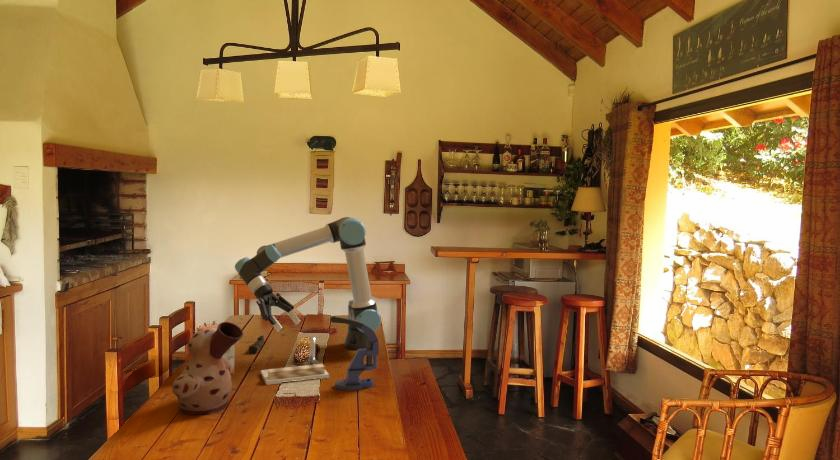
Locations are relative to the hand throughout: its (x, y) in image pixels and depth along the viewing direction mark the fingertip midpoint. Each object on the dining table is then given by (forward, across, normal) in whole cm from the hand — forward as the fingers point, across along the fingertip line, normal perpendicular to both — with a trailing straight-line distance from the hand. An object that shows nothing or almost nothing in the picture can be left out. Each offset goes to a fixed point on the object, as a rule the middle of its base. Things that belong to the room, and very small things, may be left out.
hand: (289, 326), depth 243 cm
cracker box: (-1, +22, -27) cm, 35 cm away
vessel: (+13, +48, -12) cm, 52 cm away
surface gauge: (+20, +1, -3) cm, 20 cm away
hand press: (+38, +8, +12) cm, 41 cm away
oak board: (+19, +11, -4) cm, 22 cm away
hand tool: (-9, -18, -35) cm, 40 cm away
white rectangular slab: (+18, +8, -7) cm, 21 cm away
